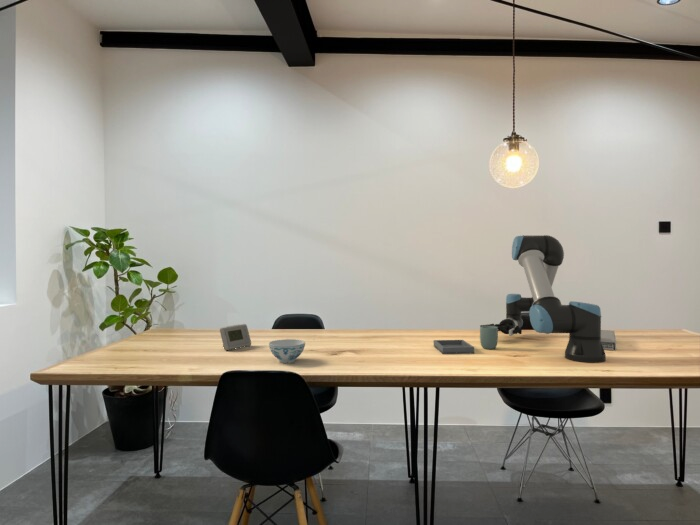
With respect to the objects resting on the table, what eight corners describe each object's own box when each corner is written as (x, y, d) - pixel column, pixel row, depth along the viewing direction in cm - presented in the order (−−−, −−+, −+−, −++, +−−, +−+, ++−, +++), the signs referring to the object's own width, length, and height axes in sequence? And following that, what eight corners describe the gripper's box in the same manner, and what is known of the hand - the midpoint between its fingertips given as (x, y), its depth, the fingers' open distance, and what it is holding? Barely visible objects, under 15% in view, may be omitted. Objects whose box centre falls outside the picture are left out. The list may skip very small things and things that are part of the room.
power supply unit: (569, 349, 218) (569, 338, 218) (573, 337, 247) (573, 328, 247) (616, 352, 209) (616, 341, 209) (614, 340, 238) (614, 330, 238)
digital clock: (224, 351, 216) (224, 328, 216) (215, 349, 222) (215, 326, 222) (255, 346, 227) (255, 324, 227) (245, 344, 233) (245, 323, 233)
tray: (474, 353, 207) (474, 347, 207) (442, 354, 206) (442, 347, 206) (462, 345, 225) (462, 339, 225) (433, 346, 224) (433, 340, 224)
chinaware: (265, 358, 200) (265, 340, 200) (300, 355, 205) (300, 338, 205) (272, 366, 186) (272, 347, 186) (309, 363, 191) (309, 344, 191)
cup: (494, 350, 212) (494, 328, 212) (477, 349, 217) (477, 327, 217) (500, 348, 218) (500, 326, 218) (483, 346, 223) (483, 325, 223)
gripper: (533, 335, 236) (522, 342, 218) (484, 331, 250) (470, 337, 233) (533, 320, 236) (522, 326, 218) (484, 316, 250) (470, 322, 232)
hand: (495, 331), depth 225 cm, fingers open, 13 cm apart
